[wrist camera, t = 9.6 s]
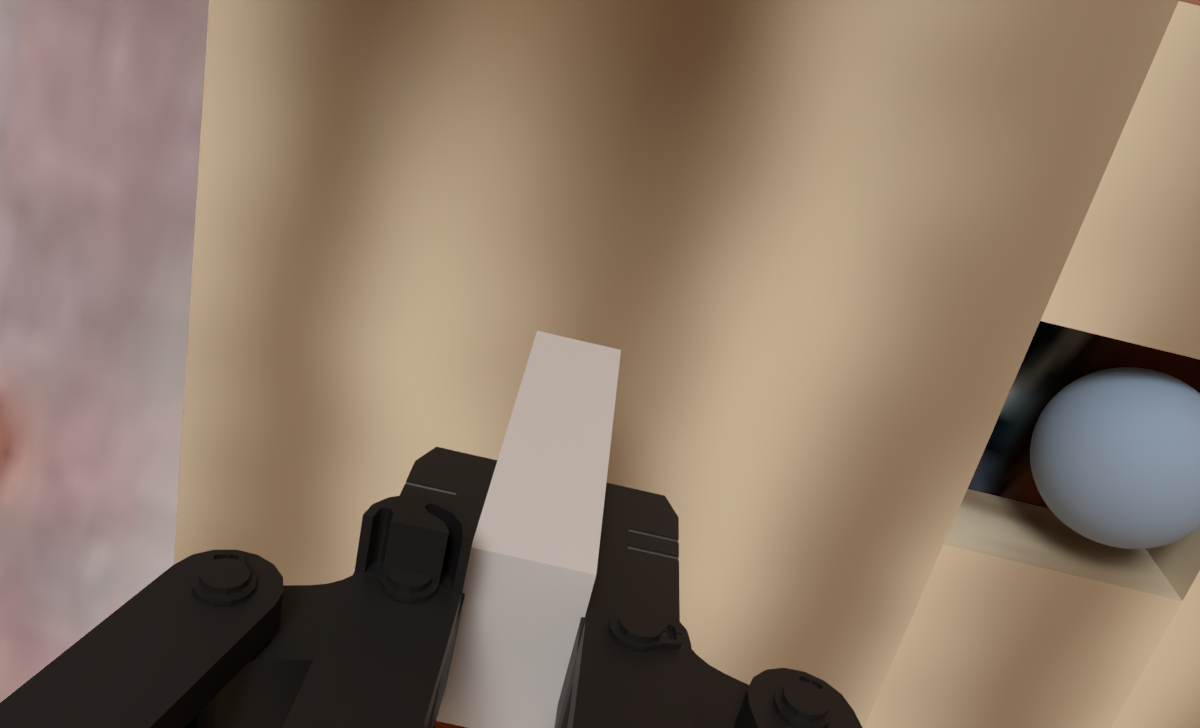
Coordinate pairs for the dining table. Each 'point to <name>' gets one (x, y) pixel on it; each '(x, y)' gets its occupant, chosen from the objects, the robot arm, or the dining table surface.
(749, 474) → the board
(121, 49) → the dining table surface
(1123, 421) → the ball
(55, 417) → the dining table surface
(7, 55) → the dining table surface
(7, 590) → the dining table surface
